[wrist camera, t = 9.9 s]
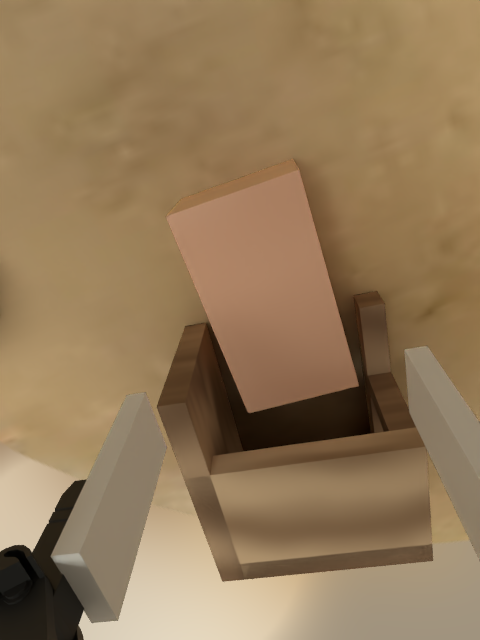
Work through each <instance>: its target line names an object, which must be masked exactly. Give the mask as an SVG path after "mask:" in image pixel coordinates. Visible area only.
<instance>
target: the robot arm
mask: <svg viewBox="0 0 480 640" xmlns="http://www.w3.org/2000/svg"><path fill="white" fill-rule="evenodd" d="M404 351H405V364H406V377H407V391H408V404H409V413H410V415H411V417H412V419H413V421H414V424H415V426H416V428H417V430H418V432H419V434H420V436H421V438H422V440H423V443H424V445H425V447H426V449H427V451H428V453H429V455H430V457H431V459H432V461H433V464H434V466H435V468H436V470H437V472H438V474H439V476H440V478H441V480H442V483H443V485H444V487H445V489H446V491H447V493H448V495H449V497H450V499H451V501H452V504H453V506H454V508H455V510H456V512H457V514H458V516H459V518H460V520H461V523H462V525H463V527H464V529H465V531H466V533H467V535H468V537H469V539H470V541H471V544H472V546H473V548H474V550H475V552H476V554H477V556H478V558H479V560H480V422H479V421H478V419H477V418H476V416H475V415H474V414H473V412H472V411H471V409H470V408H469V406H468V405H467V403H466V402H465V400H464V399H463V397H462V396H461V395H460V393H459V392H458V390H457V389H456V387H455V386H454V384H453V383H452V381H451V380H450V378H449V377H448V375H447V374H446V373H445V371H444V370H443V368H442V367H441V365H440V364H439V362H438V361H437V359H436V358H435V356H434V355H433V353H432V352H431V351H430V349H429V348H428V346H422V347H416V348H410V349H404ZM166 449H167V446H166V444H165V441H164V439H163V436H162V433H161V431H160V428H159V426H158V423H157V420H156V418H155V415H154V413H153V410H152V407H151V405H150V402H149V399H148V397H147V394H146V392H143V393H137V394H131V395H126V398H125V400H124V402H123V404H122V406H121V408H120V410H119V412H118V414H117V417H116V419H115V421H114V423H113V425H112V427H111V429H110V431H109V434H108V436H107V438H106V440H105V442H104V444H103V446H102V448H101V450H100V453H99V455H98V457H97V459H96V461H95V463H94V465H93V467H92V470H91V472H90V474H89V476H88V478H87V480H80V481H75V482H74V483H73V484H72V485H71V486H70V487H69V488H68V489H67V490H66V491H65V492H64V493H63V495H62V496H61V498H60V500H59V502H58V504H57V506H56V508H55V512H53V514H52V516H51V518H50V520H49V524H47V526H46V527H45V529H44V531H43V533H42V535H41V537H40V539H39V541H38V543H37V545H36V547H35V549H34V550H33V552H31V551H30V549H29V548H27V547H26V546H24V545H14V546H12V547H9V548H6V549H4V550H2V551H1V552H0V640H84V639H83V634H82V632H81V629H80V627H79V626H78V624H79V622H80V619H81V616H82V613H83V610H84V611H85V613H86V615H87V616H88V618H89V620H90V621H91V623H95V622H106V621H118V619H119V615H120V612H121V608H122V604H123V601H124V598H125V594H126V590H127V587H128V583H129V580H130V576H131V573H132V569H133V566H134V562H135V559H136V555H137V551H138V548H139V544H140V541H141V537H142V533H143V530H144V527H145V523H146V520H147V516H148V513H149V509H150V505H151V502H152V498H153V495H154V491H155V488H156V484H157V481H158V477H159V474H160V470H161V466H162V463H163V459H164V456H165V452H166Z"/></svg>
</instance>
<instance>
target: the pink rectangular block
mask: <svg viewBox="0 0 480 640" xmlns="http://www.w3.org/2000/svg"><path fill="white" fill-rule="evenodd" d="M166 219H167V221H168V224H169V226H170V228H171V231H172V233H173V235H174V238H175V240H176V243H177V245H178V247H179V250H180V252H181V255H182V257H183V259H184V262H185V264H186V266H187V269H188V271H189V274H190V276H191V278H192V281H193V283H194V286H195V288H196V290H197V293H198V295H199V298H200V300H201V302H202V305H203V307H204V309H205V312H206V314H207V317H208V319H209V321H210V324H211V326H212V329H213V331H214V333H215V336H216V338H217V340H218V343H219V345H220V348H221V350H222V352H223V355H224V357H225V360H226V362H227V364H228V367H229V369H230V371H231V374H232V376H233V379H234V381H235V383H236V386H237V388H238V391H239V393H240V395H241V398H242V400H243V402H244V405H245V407H246V410H247V412H248V413H252V412H256V411H260V410H264V409H268V408H272V407H276V406H280V405H284V404H288V403H292V402H296V401H300V400H305V399H309V398H313V397H317V396H321V395H325V394H329V393H333V392H337V391H341V390H345V389H349V388H353V387H357V386H359V383H358V380H357V376H356V373H355V369H354V365H353V362H352V358H351V355H350V351H349V347H348V344H347V340H346V337H345V333H344V329H343V326H342V322H341V319H340V315H339V311H338V308H337V304H336V301H335V297H334V293H333V290H332V286H331V283H330V279H329V275H328V272H327V268H326V265H325V261H324V257H323V254H322V250H321V247H320V243H319V239H318V236H317V232H316V229H315V225H314V221H313V218H312V214H311V211H310V207H309V203H308V200H307V196H306V193H305V189H304V185H303V182H302V178H301V175H300V171H299V168H298V167H297V165H296V163H295V161H294V159H291V160H288V161H285V162H283V163H280V164H277V165H274V166H271V167H269V168H266V169H263V170H260V171H257V172H255V173H252V174H249V175H246V176H243V177H241V178H238V179H235V180H232V181H229V182H227V183H224V184H221V185H218V186H215V187H213V188H210V189H207V190H204V191H201V192H199V193H196V194H193V195H190V196H187V197H185V198H182V199H181V200H180V201H179V202H178V203H177V204H176V205H175V206H174V208H173V209H172V210H171V211H170V212H169V213H168V214H167V215H166Z"/></svg>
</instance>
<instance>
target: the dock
mask: <svg viewBox="0 0 480 640" xmlns="http://www.w3.org/2000/svg"><path fill="white" fill-rule="evenodd" d="M354 303H355V311H356V319H357V327H358V335H359V343H360V351H361V359H362V367H363V375H364V383H365V391H366V399H367V407H368V415H369V423H370V431H371V434H365V435H358V436H351V437H344V438H337V439H330V440H323V441H315V442H308V443H301V444H294V445H287V446H280V447H273V448H265V449H258V450H251V451H244V452H243V449H242V445H241V442H240V438H239V435H238V431H237V428H236V424H235V421H234V417H233V414H232V410H231V407H230V404H229V400H228V397H227V393H226V390H225V386H224V383H223V379H222V376H221V372H220V369H219V365H218V362H217V358H216V355H215V352H214V348H213V345H212V341H211V338H210V334H209V331H208V327H207V324H206V323H201V324H196V325H190V326H185V328H184V331H183V334H182V337H181V340H180V343H179V345H178V348H177V351H176V354H175V357H174V359H173V362H172V365H171V368H170V371H169V374H168V376H167V379H166V382H165V385H164V388H163V391H162V393H161V396H160V399H159V402H158V405H157V409H158V412H159V414H160V417H161V420H162V422H163V425H164V428H165V430H166V433H167V436H168V438H169V441H170V443H171V446H172V449H173V451H174V454H175V457H176V459H177V462H178V465H179V467H180V470H181V473H182V475H183V478H184V481H185V483H186V486H187V489H188V491H189V494H190V497H191V499H192V502H193V504H194V507H195V510H196V512H197V515H198V518H199V520H200V523H201V526H202V528H203V531H204V534H205V536H206V539H207V542H208V544H209V547H210V549H211V552H212V555H213V558H214V560H215V563H216V566H217V568H218V571H219V573H220V576H221V579H222V581H233V580H244V579H254V578H263V577H274V576H284V575H294V574H303V573H304V574H305V573H314V572H325V571H334V570H345V569H355V568H364V567H376V566H386V565H396V564H406V563H416V562H426V561H433V551H432V533H431V515H430V497H429V480H428V462H427V449H426V447H425V445H424V443H423V440H422V438H421V436H420V434H419V432H418V430H417V428H416V426H415V424H414V421H413V419H412V417H411V415H410V413H409V409H408V407H407V404H406V402H405V400H404V398H403V396H402V394H401V392H400V390H399V388H398V386H397V384H396V382H395V379H394V377H393V375H392V373H391V367H390V357H389V346H388V335H387V324H386V313H385V303H384V302H383V300H382V299H381V297H380V295H379V294H378V292H377V291H375V292H369V293H364V294H359V295H354Z"/></svg>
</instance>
